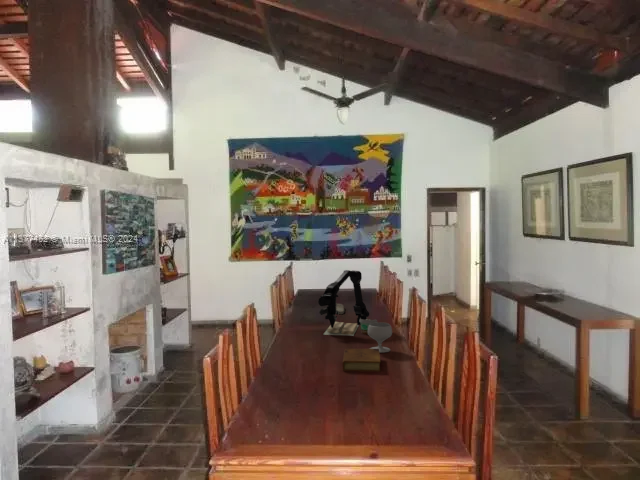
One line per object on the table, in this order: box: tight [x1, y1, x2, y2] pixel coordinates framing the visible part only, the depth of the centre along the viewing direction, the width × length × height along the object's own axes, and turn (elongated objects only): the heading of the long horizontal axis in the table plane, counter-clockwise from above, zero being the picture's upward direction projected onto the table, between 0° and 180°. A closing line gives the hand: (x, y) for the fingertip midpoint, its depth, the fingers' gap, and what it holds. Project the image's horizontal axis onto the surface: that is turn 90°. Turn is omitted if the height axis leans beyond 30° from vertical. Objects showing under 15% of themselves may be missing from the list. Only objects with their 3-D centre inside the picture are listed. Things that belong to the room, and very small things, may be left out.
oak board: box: [341, 322, 358, 334], centre depth 322 cm, size 7×24×2 cm, turn 169°
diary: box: [342, 347, 381, 373], centre depth 247 cm, size 23×19×6 cm
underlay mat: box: [323, 324, 360, 337], centre depth 323 cm, size 20×30×1 cm, turn 169°
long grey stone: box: [336, 302, 346, 315], centre depth 395 cm, size 35×5×10 cm
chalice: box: [368, 321, 393, 354], centre depth 272 cm, size 14×14×15 cm
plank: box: [326, 321, 345, 333], centre depth 324 cm, size 8×24×2 cm, turn 169°
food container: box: [359, 318, 378, 336], centre depth 311 cm, size 12×6×10 cm, turn 62°
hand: (332, 327), depth 318 cm, fingers closed, pressing on plank
